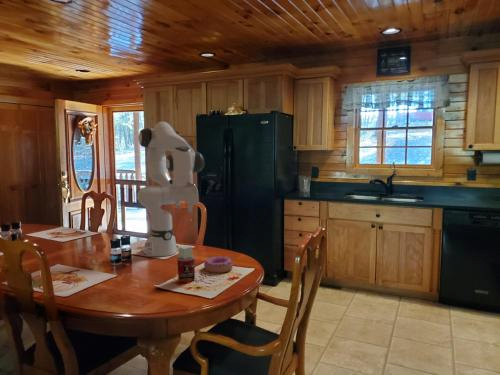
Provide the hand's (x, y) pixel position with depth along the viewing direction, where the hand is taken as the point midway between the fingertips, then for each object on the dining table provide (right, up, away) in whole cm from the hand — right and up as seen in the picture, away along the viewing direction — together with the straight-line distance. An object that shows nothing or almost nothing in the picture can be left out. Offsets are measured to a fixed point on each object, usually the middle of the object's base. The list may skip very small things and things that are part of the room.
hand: (184, 210), depth 179 cm
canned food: (+2, -32, -7) cm, 33 cm away
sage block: (+2, -21, -8) cm, 22 cm away
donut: (+16, -30, +8) cm, 35 cm away
